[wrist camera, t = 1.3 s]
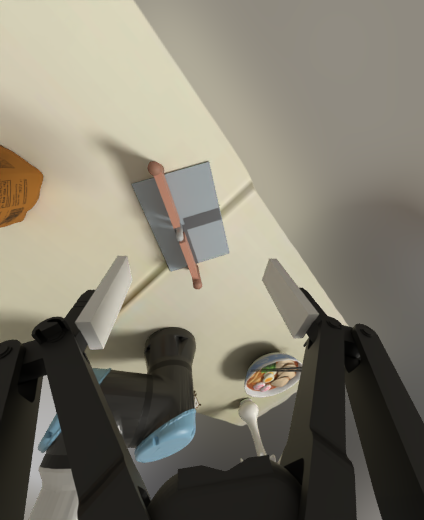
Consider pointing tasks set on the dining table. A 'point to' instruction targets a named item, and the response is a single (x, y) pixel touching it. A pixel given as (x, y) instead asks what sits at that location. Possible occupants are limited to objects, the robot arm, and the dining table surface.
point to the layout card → (185, 215)
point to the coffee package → (17, 187)
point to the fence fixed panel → (189, 257)
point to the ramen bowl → (272, 374)
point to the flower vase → (253, 425)
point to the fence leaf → (164, 192)
